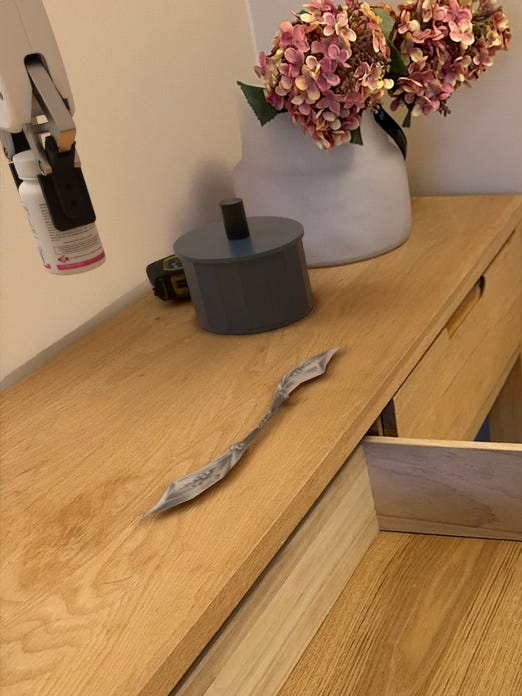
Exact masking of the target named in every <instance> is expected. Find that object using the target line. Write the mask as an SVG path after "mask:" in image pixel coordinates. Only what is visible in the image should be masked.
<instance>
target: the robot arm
mask: <svg viewBox="0 0 522 696" xmlns="http://www.w3.org/2000/svg"><path fill="white" fill-rule="evenodd" d="M58 45H59V44H58V42H57V39H56V37H55V33H54V31H53V28H52V25H51V21H50V19H49V16H48V13H47V11H46V7H45V5H44V2H43V0H0V144H1V148H2V152H3V154H4V157H5V159H6V160H7V162H8V167H9V170H10V173H11V176H12V178H13V182H14V184H15V188H16V190H17V192H18V196H19V198H20V195H19V187H20V185H21V184H22V183H23V180H22V179H20V178H19V175H18V174H17V171H16V168H15V165H14V162H13V156H15V155H16V154H18V153H21V152H24V151H27V150H32V152H33V155H34V157H35V159H36V162H37V164H38V167H39V169H40V171H41V173H42V174H38V175H37V178H38V181H39V184H40V187H41V190H42V193H43V196H44V199H45V202H46V205H47V208H48V211H49V214H50V217H51V220H52V223H53V226H54V228H55V229H57V230H59V231H66V230H69V229H73V228H77V227H80V226H84V225H87V224H91V223H94V222H95V223H96V221H97V215H96V212H95V209H94V205H93V202H92V200H91V195H90V192H89V190H88V185H87V183H86V179H85V177H84V173H83V169H82V161H81V158H80V155H79V152H78V149H77V148H76V145H77V141H76V140H75V139H76V134H77V127H76V123H75V121H74V118H73V117H74V115H75V112H76V106H75V101H74V96H73V92H72V87H71V84H70V81H69V77H68V74H67V71H66V68H65V64H64V60H63V57H62V55H61V51H60V49H59V46H58ZM41 116H44V117H45V118H46V120H47V121H46V122H45V121H44V122H41V123H39V121H38V118H37V117H41ZM47 134H49V135H47ZM42 135H46V136H45V137H44V142H43V139H42ZM44 147H45V150H44ZM20 200H21V198H20Z"/></svg>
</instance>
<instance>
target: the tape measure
mask: <svg viewBox="0 0 522 696" xmlns="http://www.w3.org/2000/svg"><path fill="white" fill-rule="evenodd" d="M145 273H146V276H147V279H148V281H149V284H150V285H151V286H152V288H151V290H152V291H153V295H154V296H155V297H158V298H159V300H160V301H163V302H167V301H171V300H173V299H174V298H185V297H191V295H190V292H189V288H188V284H187V281H186V277H185V273H184V269H183V266H182V262H181V259H180V258H178V257H177V256H176V255H175V253H174V254H170V255H168V256H165V257H163V258H160V259H158V260H154V261H153V262H151V263H149V264H148V265H146V268H145Z"/></svg>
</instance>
